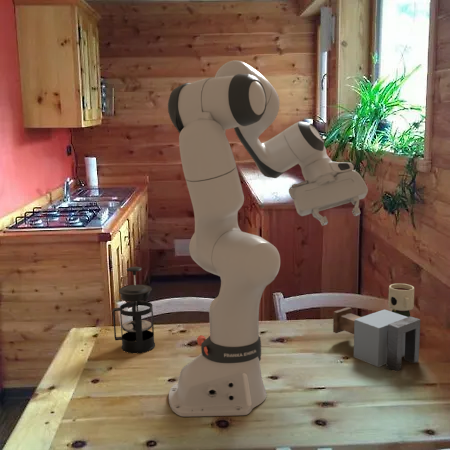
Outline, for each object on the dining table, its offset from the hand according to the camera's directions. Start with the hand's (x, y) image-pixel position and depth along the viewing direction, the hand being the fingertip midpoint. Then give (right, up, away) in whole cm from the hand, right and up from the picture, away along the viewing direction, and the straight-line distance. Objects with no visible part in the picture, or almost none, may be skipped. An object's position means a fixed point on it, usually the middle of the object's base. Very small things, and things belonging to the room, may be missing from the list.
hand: (341, 219), depth 154 cm
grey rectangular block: (+10, -36, -1) cm, 38 cm away
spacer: (+14, -37, -6) cm, 40 cm away
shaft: (+7, -32, +3) cm, 33 cm away
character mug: (+21, -33, +18) cm, 42 cm away
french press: (-56, -36, +9) cm, 67 cm away
